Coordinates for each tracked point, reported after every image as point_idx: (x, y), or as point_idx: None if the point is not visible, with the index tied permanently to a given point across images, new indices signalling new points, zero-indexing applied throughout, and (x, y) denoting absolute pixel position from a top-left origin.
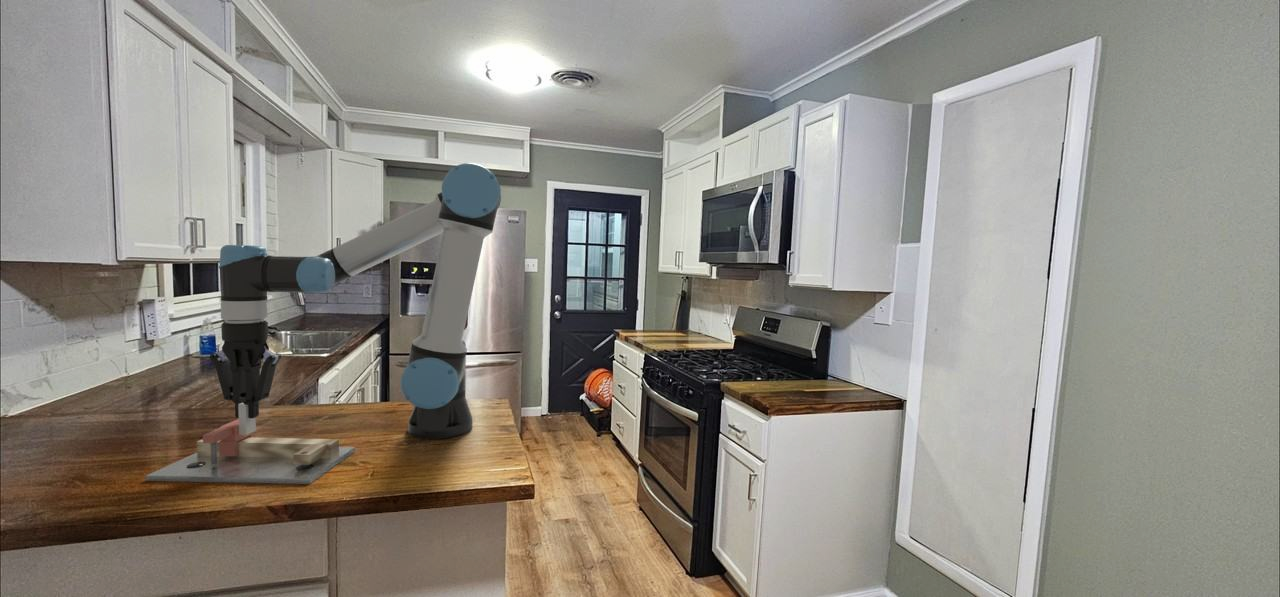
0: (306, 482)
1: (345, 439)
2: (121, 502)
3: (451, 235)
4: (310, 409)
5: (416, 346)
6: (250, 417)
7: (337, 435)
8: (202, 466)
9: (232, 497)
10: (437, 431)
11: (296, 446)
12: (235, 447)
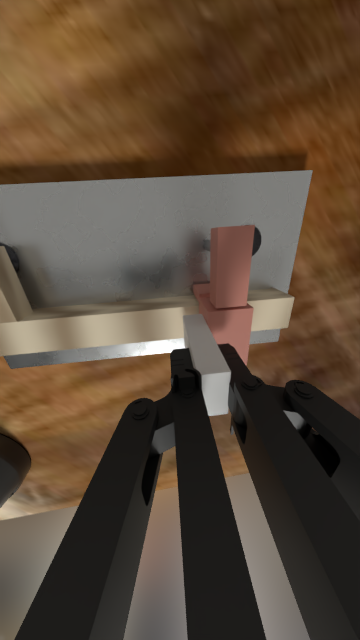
0: None
1: (92, 402)
2: (285, 32)
3: None
4: (235, 468)
5: None
6: (182, 350)
7: (120, 411)
8: None
9: (39, 90)
10: None
11: (58, 315)
12: (196, 292)
